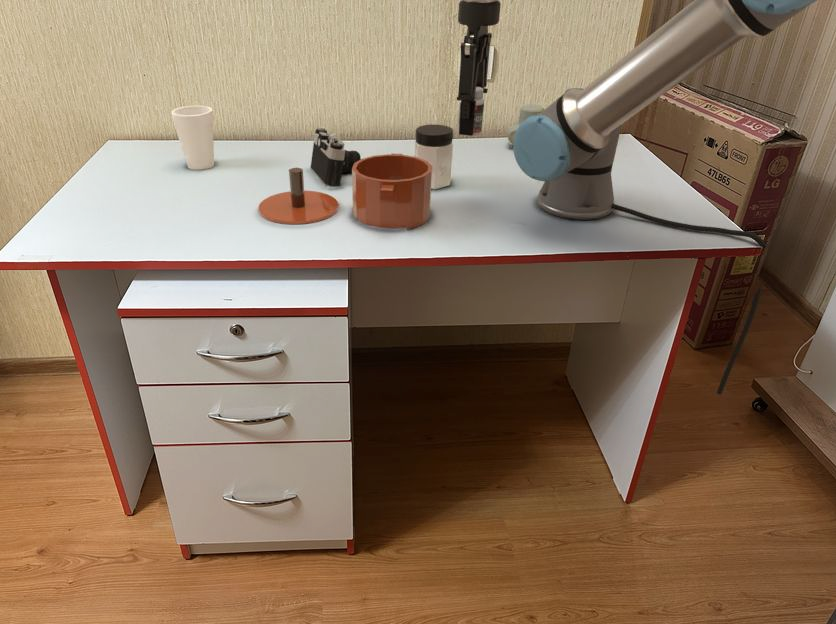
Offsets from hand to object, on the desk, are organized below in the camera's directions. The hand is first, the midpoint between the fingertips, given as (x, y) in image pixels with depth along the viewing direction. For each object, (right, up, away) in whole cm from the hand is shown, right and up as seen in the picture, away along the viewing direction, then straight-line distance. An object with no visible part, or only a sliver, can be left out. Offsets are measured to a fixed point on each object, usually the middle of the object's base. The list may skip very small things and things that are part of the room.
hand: (469, 130), depth 128 cm
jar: (-6, -6, +18) cm, 20 cm away
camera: (-27, -3, +22) cm, 35 cm away
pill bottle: (0, 0, 0) cm, 1 cm away
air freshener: (+21, +9, +39) cm, 45 cm away
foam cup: (-62, +1, +29) cm, 68 cm away
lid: (-35, -15, +5) cm, 38 cm away
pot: (-16, -16, +3) cm, 23 cm away
